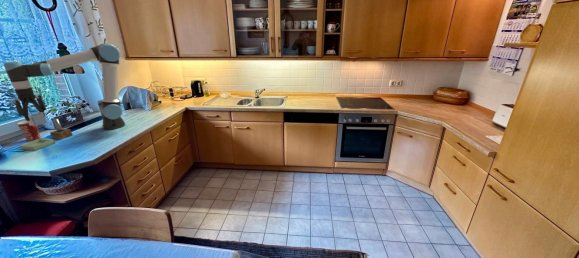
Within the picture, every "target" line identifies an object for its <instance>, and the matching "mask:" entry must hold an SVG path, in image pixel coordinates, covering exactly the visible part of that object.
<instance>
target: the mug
mask: <svg viewBox="0 0 579 258" xmlns="http://www.w3.org/2000/svg"><path fill="white" fill-rule="evenodd" d="M16 125H17V126H18V128H19V129H20V131H21V132H22V135H23V136H24V138H25V140H26V141H27V142H31V141H34V140H37V139H40V138H42V137H41V134H40V132H39V128H38V126H32V125H29V123H28V121H26V120H23V121H19V122H17V123H16Z"/></svg>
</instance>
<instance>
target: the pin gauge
mask: <svg viewBox="0 0 579 258" xmlns="http://www.w3.org/2000/svg"><path fill="white" fill-rule="evenodd" d="M52 121H53V123H54V126H55V129H56V130H57V132H61V131H63V130H62V129H63V128H62V125H61V122H60V120H59V118H54V119H52Z"/></svg>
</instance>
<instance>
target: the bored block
mask: <svg viewBox="0 0 579 258" xmlns="http://www.w3.org/2000/svg"><path fill="white" fill-rule="evenodd" d="M62 130H63V131H61V132H57V129H56V130H54V131H50V132H49V134H50V136H51V139H54V140H64V139H67V138H70V137H72V136H73V132H72V130H71V129H70V128H62Z"/></svg>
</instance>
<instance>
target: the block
mask: <svg viewBox="0 0 579 258" xmlns="http://www.w3.org/2000/svg"><path fill="white" fill-rule="evenodd" d="M44 114H45V113H44ZM44 114H38V113H32V114H30V116H31V118H32V121H33V123H34V125H32V126H37V127H38V126H41V125H44V124H47V123H48V121H47V119H46V115H45V116H44ZM28 123H29V122H28Z"/></svg>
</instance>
